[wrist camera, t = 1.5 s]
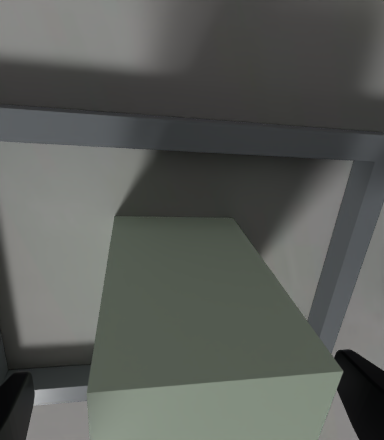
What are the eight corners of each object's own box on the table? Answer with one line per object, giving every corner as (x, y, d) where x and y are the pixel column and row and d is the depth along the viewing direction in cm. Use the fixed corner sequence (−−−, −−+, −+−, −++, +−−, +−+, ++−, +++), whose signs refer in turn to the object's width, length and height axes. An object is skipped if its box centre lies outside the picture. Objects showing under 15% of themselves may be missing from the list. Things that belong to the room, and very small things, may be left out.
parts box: (232, 217, 14) (343, 371, 6) (218, 312, 16) (290, 511, 8) (114, 216, 13) (86, 392, 5) (116, 317, 15) (96, 545, 7)
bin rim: (383, 132, 13) (405, 137, 12) (311, 362, 18) (322, 380, 17) (-81, 98, 10) (-108, 100, 9) (-12, 387, 15) (-23, 410, 14)
